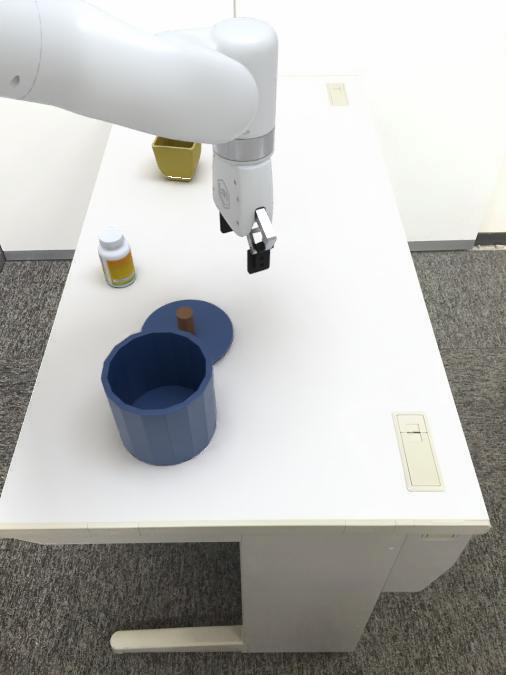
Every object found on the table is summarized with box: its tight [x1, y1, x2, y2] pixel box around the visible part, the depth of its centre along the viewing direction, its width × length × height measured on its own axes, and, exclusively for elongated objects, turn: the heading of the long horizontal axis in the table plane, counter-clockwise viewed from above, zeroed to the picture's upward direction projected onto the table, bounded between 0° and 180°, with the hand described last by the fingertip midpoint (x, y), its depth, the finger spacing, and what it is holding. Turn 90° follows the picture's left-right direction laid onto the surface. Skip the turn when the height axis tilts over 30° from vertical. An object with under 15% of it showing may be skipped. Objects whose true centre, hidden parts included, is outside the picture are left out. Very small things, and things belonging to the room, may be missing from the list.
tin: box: [100, 328, 217, 467], centre depth 71 cm, size 14×14×12 cm
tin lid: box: [140, 298, 234, 364], centre depth 84 cm, size 15×15×6 cm
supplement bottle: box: [97, 226, 137, 288], centre depth 91 cm, size 5×5×10 cm
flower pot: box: [151, 135, 203, 182], centre depth 113 cm, size 9×9×9 cm
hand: (244, 249), depth 77 cm, fingers open, 9 cm apart
